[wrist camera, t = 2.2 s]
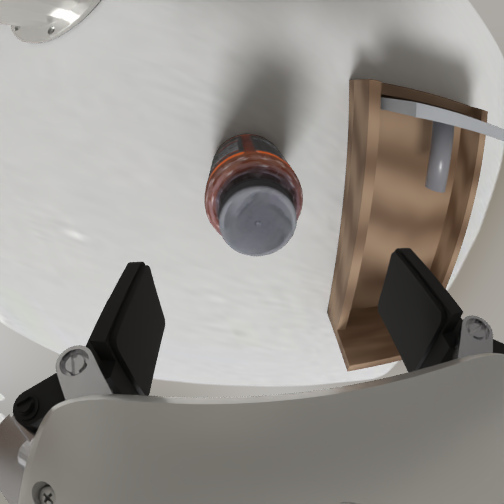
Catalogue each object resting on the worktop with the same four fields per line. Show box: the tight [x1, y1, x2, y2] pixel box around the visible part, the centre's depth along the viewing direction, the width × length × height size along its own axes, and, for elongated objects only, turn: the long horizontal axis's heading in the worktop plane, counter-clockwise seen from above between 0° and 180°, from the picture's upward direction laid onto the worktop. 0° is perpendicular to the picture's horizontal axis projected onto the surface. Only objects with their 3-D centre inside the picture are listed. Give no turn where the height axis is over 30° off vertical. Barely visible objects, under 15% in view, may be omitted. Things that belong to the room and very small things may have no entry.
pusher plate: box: [380, 97, 504, 193], centre depth 18 cm, size 7×11×7 cm, turn 92°
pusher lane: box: [327, 79, 488, 371], centre depth 23 cm, size 26×14×9 cm, turn 2°
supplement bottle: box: [205, 134, 303, 256], centre depth 19 cm, size 6×6×11 cm
